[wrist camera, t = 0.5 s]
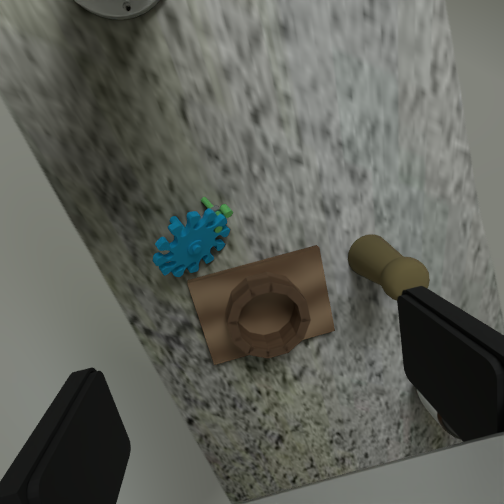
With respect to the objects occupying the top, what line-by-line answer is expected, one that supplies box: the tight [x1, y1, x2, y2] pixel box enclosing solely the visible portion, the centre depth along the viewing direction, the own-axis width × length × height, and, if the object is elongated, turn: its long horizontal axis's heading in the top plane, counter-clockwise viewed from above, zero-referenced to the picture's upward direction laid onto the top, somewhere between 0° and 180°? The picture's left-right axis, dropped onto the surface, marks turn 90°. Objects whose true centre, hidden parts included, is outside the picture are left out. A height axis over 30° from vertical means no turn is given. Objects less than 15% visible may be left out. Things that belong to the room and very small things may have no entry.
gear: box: [153, 197, 233, 277], centre depth 41 cm, size 11×6×10 cm
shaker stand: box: [187, 245, 335, 365], centre depth 46 cm, size 13×18×5 cm
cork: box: [348, 235, 430, 300], centre depth 43 cm, size 6×6×11 cm
